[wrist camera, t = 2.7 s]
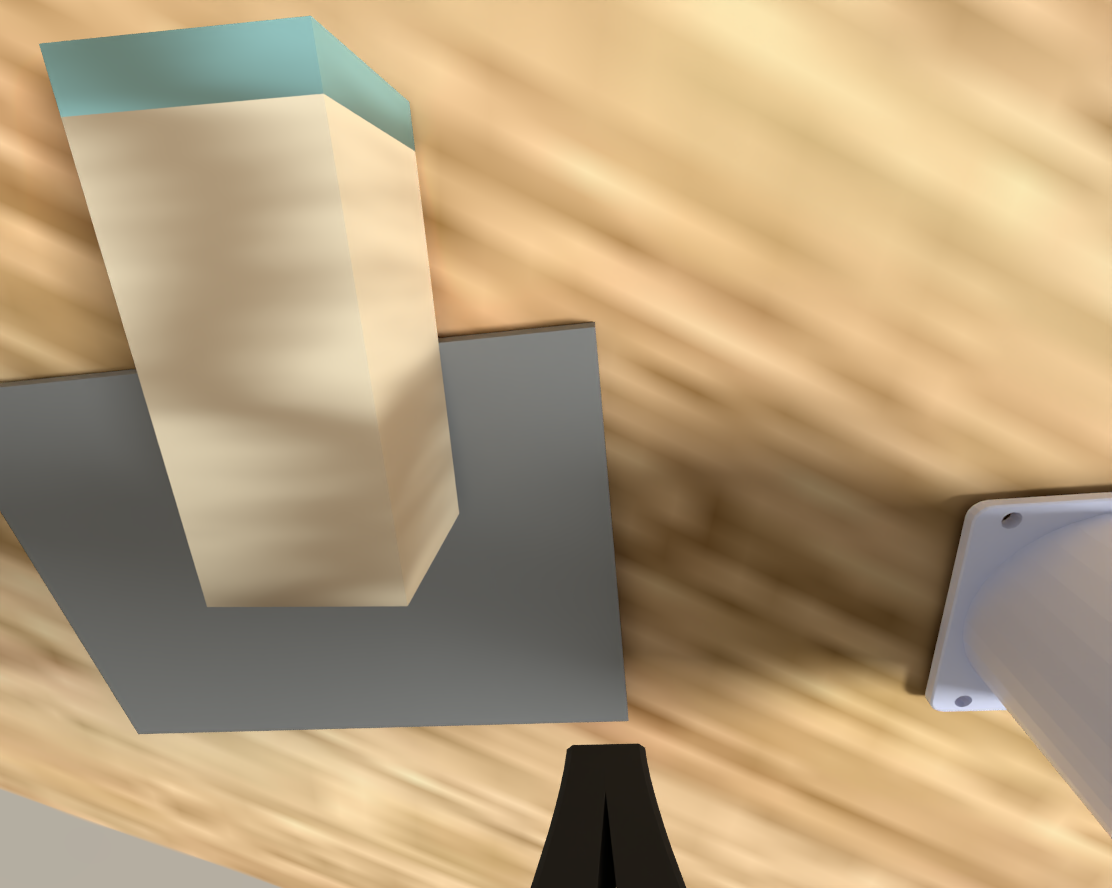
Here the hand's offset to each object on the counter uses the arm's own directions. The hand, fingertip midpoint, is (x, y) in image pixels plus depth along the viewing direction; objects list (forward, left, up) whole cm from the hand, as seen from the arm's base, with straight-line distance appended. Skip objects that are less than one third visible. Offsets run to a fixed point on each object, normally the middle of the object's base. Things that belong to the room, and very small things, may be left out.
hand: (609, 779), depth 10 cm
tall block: (+6, -3, -4) cm, 8 cm away
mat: (+9, 0, -7) cm, 12 cm away
